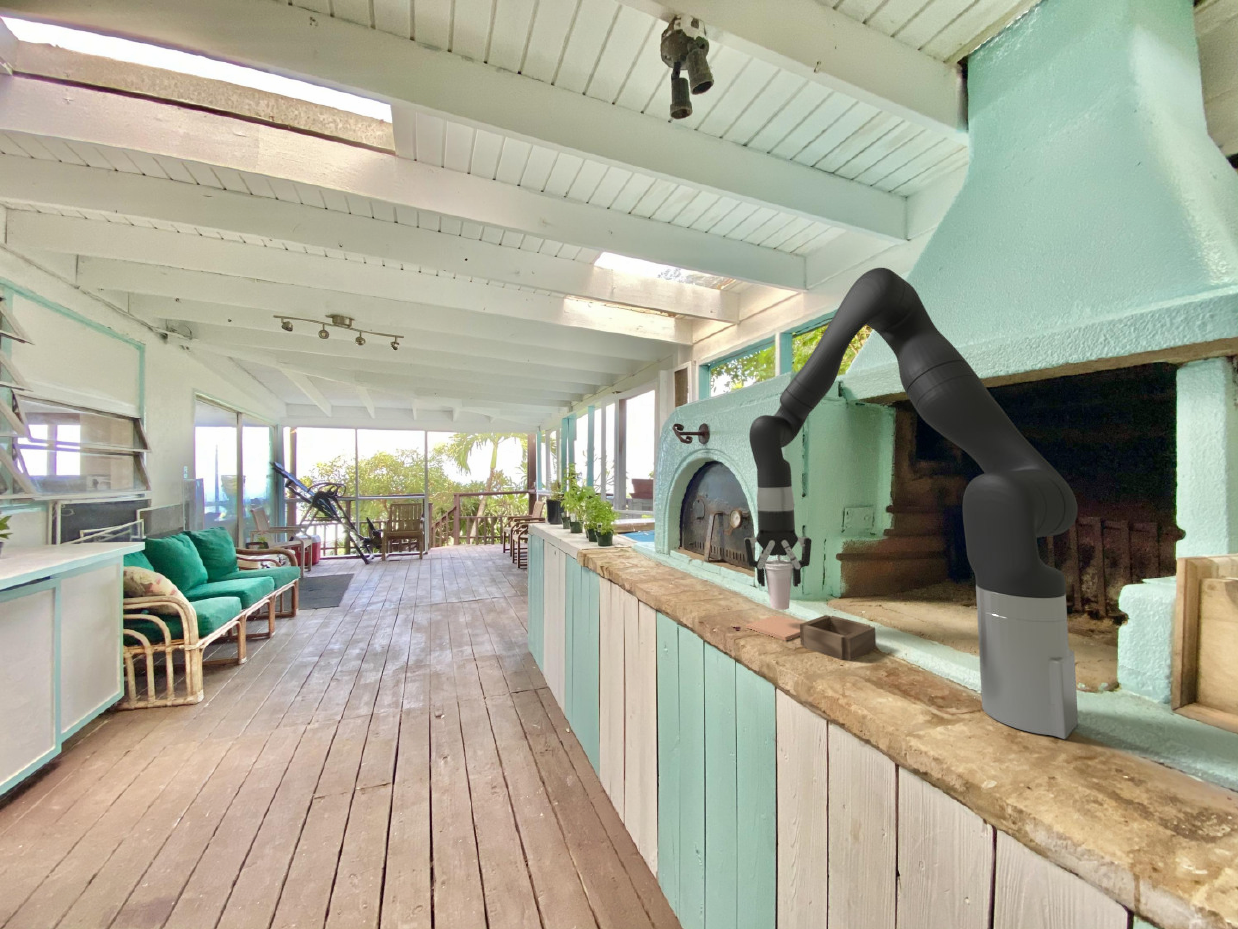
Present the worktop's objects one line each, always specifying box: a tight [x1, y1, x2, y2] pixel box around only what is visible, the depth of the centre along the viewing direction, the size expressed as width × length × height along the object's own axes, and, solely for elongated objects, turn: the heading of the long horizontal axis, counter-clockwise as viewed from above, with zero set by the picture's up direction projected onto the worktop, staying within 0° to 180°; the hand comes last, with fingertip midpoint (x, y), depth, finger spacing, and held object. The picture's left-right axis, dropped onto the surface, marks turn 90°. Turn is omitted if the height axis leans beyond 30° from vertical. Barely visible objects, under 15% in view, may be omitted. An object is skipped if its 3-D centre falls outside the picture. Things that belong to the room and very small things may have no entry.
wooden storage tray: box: [799, 614, 877, 662], centre depth 89 cm, size 10×10×4 cm
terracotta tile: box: [745, 614, 803, 642], centre depth 99 cm, size 10×10×1 cm
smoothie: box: [763, 555, 794, 611], centre depth 100 cm, size 6×6×14 cm
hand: (778, 585), depth 100 cm, fingers closed on smoothie, 6 cm apart
